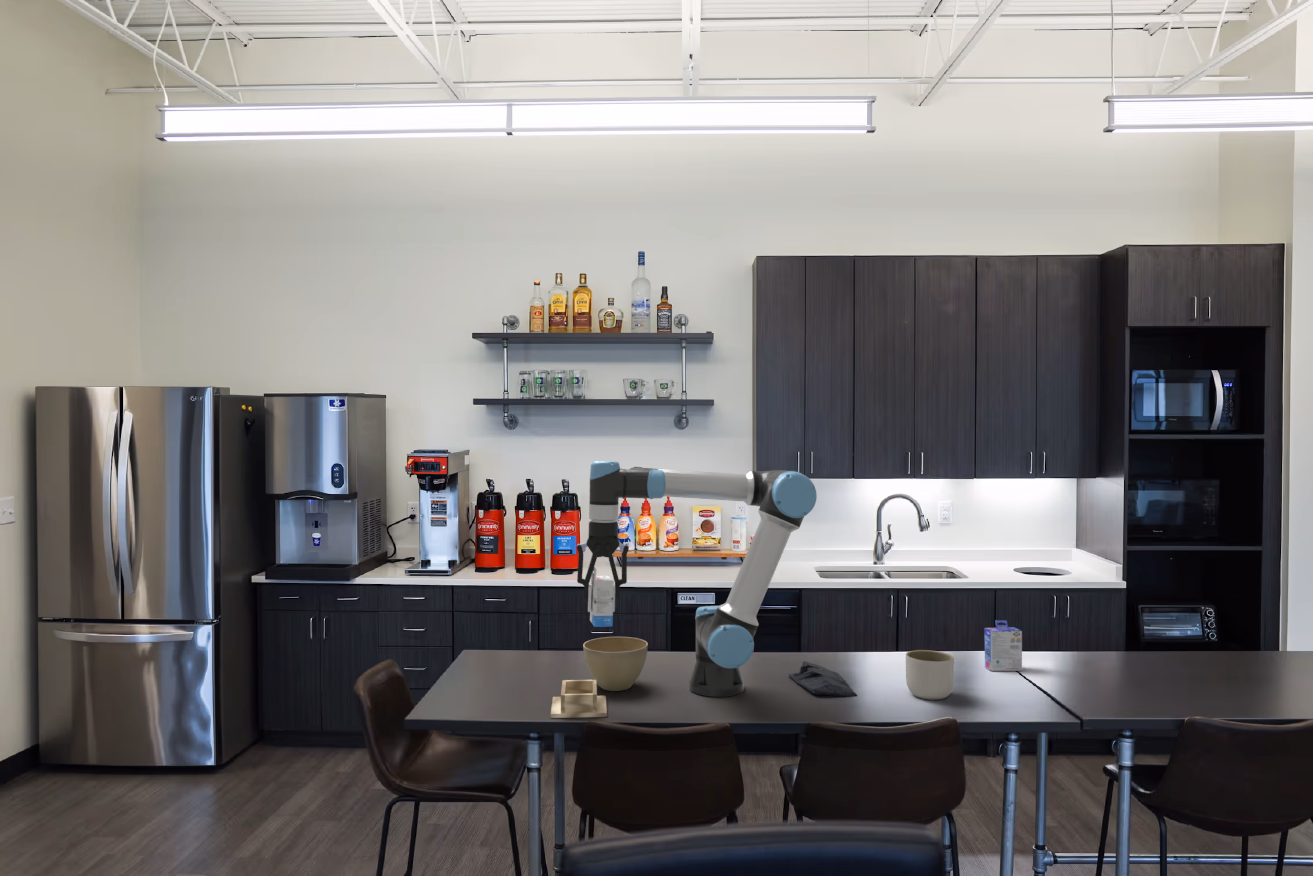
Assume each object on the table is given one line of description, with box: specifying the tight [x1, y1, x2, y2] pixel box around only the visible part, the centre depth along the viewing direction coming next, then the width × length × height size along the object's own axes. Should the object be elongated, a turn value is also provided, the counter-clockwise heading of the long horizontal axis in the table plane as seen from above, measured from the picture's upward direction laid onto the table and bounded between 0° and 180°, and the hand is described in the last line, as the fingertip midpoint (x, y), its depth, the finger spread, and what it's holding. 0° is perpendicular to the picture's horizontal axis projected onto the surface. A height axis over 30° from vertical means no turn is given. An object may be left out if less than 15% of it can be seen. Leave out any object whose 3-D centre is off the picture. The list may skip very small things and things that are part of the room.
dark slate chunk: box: [788, 660, 858, 697], centre depth 241 cm, size 15×22×5 cm
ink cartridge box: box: [983, 619, 1023, 672], centre depth 258 cm, size 10×6×14 cm, turn 92°
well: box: [550, 679, 608, 719], centre depth 220 cm, size 14×14×6 cm
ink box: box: [589, 566, 615, 628], centre depth 220 cm, size 8×5×15 cm, turn 13°
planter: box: [905, 649, 955, 701], centre depth 232 cm, size 12×12×11 cm
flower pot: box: [582, 636, 649, 692], centre depth 239 cm, size 18×18×12 cm
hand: (601, 610), depth 220 cm, fingers closed on ink box, 5 cm apart
